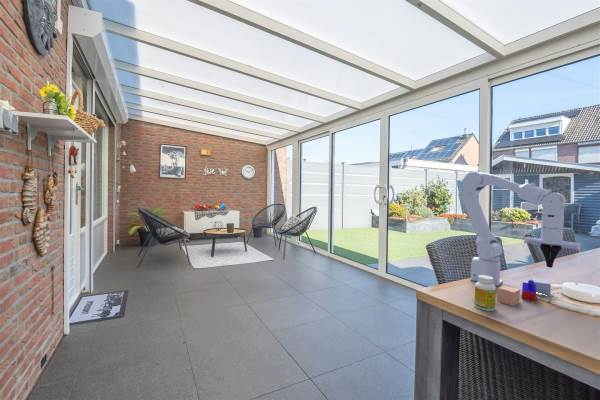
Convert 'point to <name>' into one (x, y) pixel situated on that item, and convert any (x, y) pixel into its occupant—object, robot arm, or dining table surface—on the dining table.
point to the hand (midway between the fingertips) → (549, 266)
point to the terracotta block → (508, 295)
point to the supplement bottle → (485, 293)
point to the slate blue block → (542, 286)
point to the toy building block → (529, 290)
